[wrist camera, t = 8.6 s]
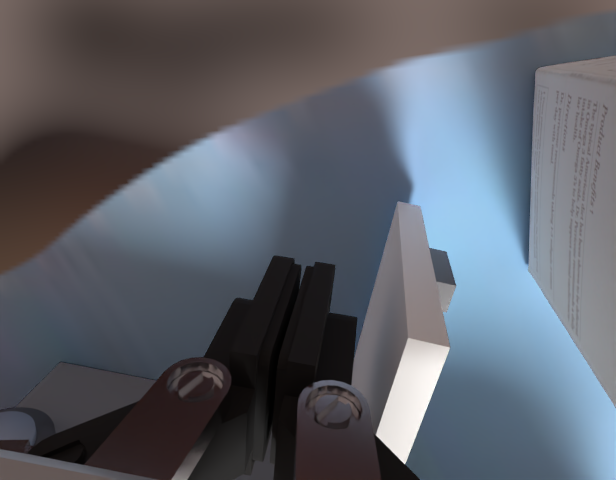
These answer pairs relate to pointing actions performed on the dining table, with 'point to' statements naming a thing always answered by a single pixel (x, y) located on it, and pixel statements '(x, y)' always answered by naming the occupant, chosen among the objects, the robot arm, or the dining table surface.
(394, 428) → the side door
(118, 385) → the block
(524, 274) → the dining table surface
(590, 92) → the supplement box
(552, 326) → the dining table surface
